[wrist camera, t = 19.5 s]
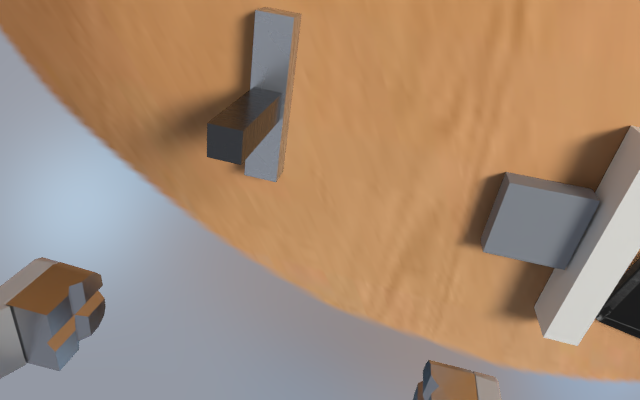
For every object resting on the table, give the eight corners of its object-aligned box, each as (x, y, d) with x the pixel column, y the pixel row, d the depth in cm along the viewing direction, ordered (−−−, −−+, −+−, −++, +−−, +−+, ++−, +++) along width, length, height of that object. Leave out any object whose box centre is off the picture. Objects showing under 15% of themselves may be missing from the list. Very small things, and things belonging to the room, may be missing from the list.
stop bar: (630, 125, 34) (654, 144, 30) (672, 133, 34) (700, 154, 30) (533, 306, 43) (543, 337, 40) (565, 314, 43) (577, 345, 40)
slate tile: (505, 169, 38) (509, 182, 36) (590, 186, 37) (600, 201, 35) (480, 236, 41) (482, 251, 39) (557, 253, 41) (564, 270, 38)
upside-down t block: (265, 6, 35) (204, 27, 25) (302, 13, 35) (254, 36, 25) (253, 163, 42) (201, 227, 33) (283, 170, 42) (240, 236, 32)
